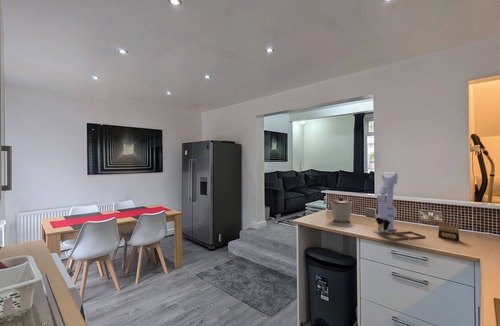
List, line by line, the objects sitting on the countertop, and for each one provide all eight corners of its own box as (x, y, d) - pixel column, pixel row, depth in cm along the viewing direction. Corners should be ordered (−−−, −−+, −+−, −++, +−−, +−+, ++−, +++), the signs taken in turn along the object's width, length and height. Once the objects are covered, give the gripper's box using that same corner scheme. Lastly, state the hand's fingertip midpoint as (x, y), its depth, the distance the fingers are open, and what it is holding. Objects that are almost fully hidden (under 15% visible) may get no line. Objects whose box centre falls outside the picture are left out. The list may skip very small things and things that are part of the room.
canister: (326, 219, 216) (326, 196, 216) (343, 217, 222) (342, 195, 222) (339, 224, 199) (339, 199, 199) (357, 222, 205) (356, 197, 205)
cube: (378, 230, 175) (378, 224, 175) (383, 229, 176) (383, 223, 176) (382, 232, 171) (382, 225, 171) (388, 231, 172) (387, 225, 172)
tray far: (396, 233, 170) (396, 232, 170) (410, 232, 173) (410, 231, 173) (410, 239, 159) (410, 237, 159) (425, 237, 161) (425, 236, 161)
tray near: (379, 235, 168) (379, 233, 168) (393, 234, 170) (393, 232, 170) (392, 240, 156) (392, 239, 156) (407, 239, 158) (407, 237, 158)
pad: (373, 231, 176) (373, 231, 176) (385, 231, 178) (385, 230, 178) (380, 234, 169) (380, 234, 169) (392, 233, 171) (392, 233, 171)
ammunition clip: (438, 237, 162) (438, 219, 162) (438, 236, 163) (438, 219, 163) (458, 241, 154) (458, 222, 154) (459, 240, 155) (459, 222, 155)
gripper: (371, 208, 180) (371, 226, 180) (385, 212, 166) (385, 232, 166) (379, 208, 181) (379, 226, 181) (394, 212, 167) (394, 231, 167)
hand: (383, 229), depth 173 cm, fingers closed on cube, 4 cm apart
